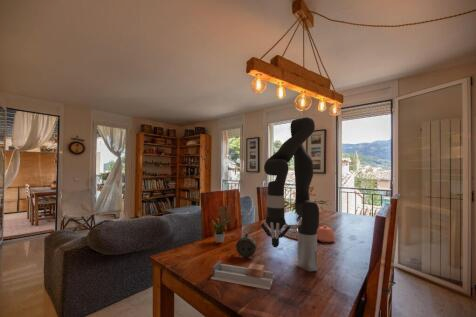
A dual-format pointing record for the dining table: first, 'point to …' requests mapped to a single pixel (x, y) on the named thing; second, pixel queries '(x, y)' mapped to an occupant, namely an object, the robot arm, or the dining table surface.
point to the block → (256, 270)
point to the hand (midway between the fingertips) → (275, 246)
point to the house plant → (219, 231)
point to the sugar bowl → (325, 234)
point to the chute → (240, 276)
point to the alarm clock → (246, 246)
